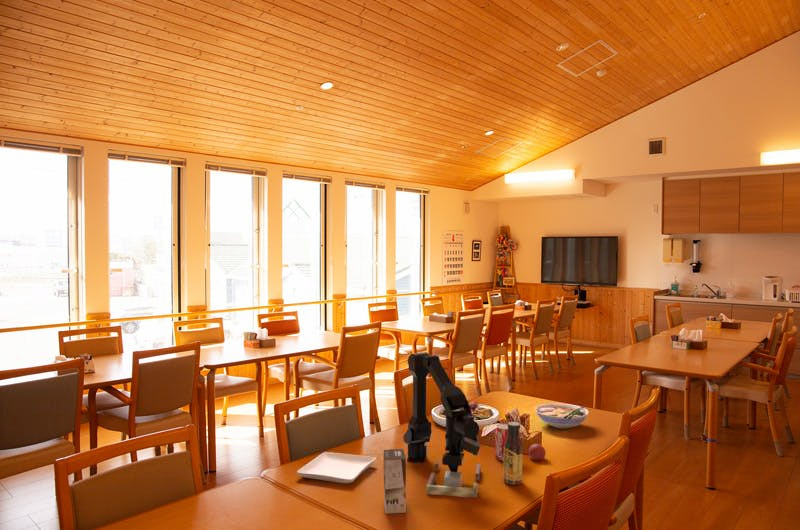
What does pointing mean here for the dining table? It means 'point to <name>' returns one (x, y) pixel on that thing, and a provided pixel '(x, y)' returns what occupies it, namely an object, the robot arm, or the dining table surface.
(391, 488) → the coffee box
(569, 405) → the ramen bowl
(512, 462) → the sauce bottle
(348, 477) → the salad plate
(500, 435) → the soda can
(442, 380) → the robot arm
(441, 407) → the bowl
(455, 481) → the white cube
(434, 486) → the wooden pieces
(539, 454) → the fruit
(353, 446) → the dining table surface
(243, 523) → the dining table surface
